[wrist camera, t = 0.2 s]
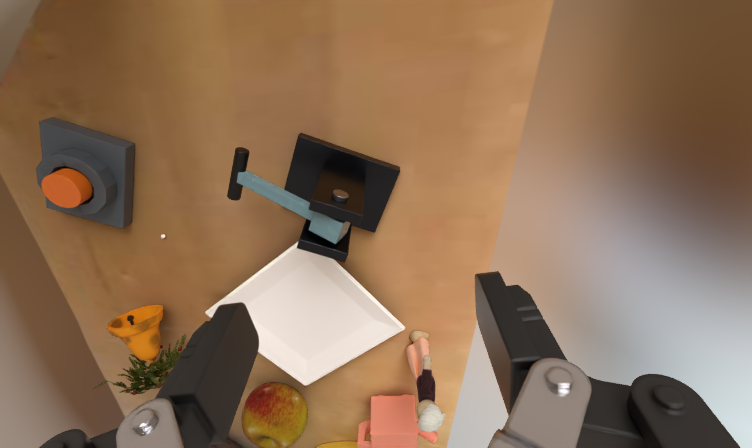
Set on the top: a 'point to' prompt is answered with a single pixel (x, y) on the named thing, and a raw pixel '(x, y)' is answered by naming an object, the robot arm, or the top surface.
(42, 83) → the top surface
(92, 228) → the top surface
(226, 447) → the stone
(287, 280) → the plate
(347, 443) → the teapot
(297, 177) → the switch bracket
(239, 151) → the switch lever
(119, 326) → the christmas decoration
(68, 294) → the top surface
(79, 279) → the top surface
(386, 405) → the pink blocky piece
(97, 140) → the control block
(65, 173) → the button
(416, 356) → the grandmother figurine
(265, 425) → the fruit
